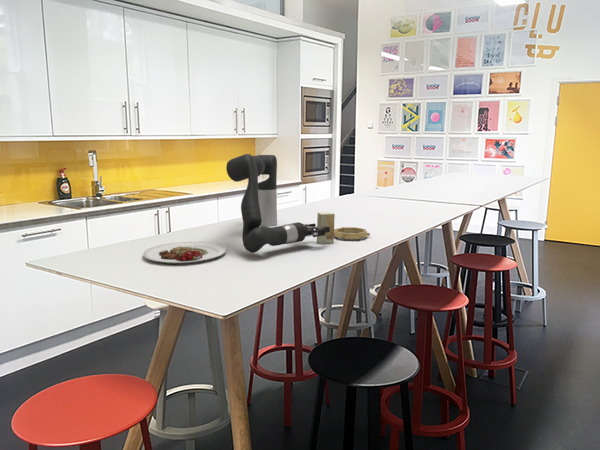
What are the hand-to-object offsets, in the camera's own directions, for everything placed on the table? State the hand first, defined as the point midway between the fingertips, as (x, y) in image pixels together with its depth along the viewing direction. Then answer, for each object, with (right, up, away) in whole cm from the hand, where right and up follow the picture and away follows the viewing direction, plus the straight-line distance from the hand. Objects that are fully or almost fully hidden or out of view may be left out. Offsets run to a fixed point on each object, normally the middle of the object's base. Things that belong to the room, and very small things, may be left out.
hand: (322, 227), depth 204 cm
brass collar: (+13, -4, +11) cm, 17 cm away
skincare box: (+2, -6, +2) cm, 7 cm away
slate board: (+13, -4, +11) cm, 17 cm away
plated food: (-51, -11, -16) cm, 55 cm away
